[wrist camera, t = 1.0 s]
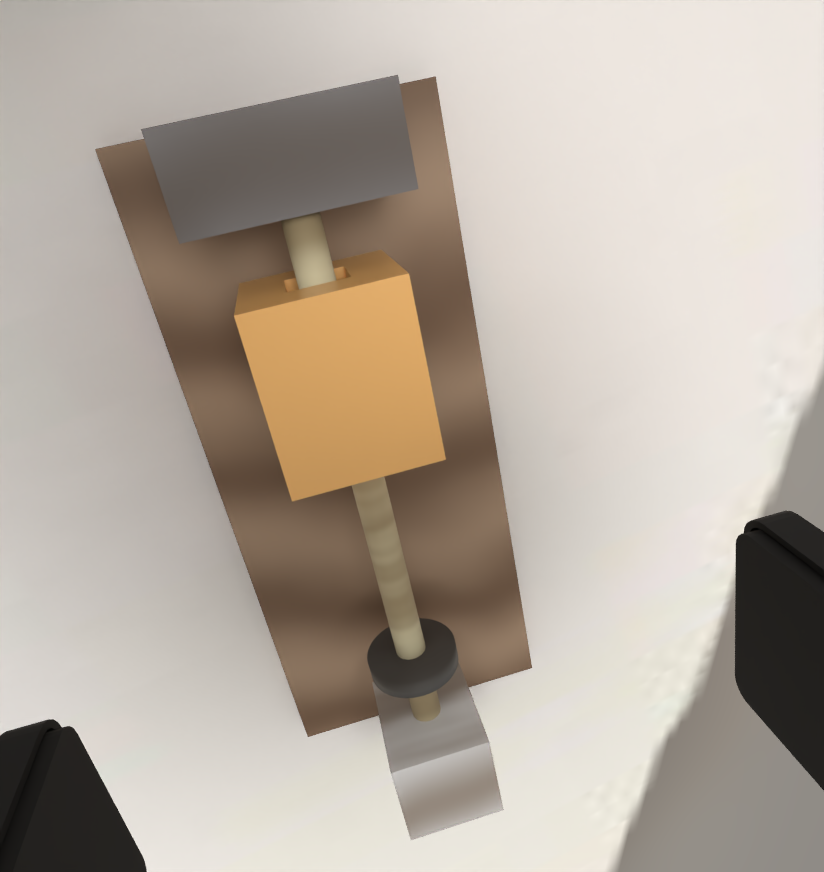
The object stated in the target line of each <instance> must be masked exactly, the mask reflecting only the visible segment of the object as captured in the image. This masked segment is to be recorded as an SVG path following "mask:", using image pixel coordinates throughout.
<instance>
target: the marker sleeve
mask: <svg viewBox="0 0 824 872" xmlns="http://www.w3.org/2000/svg"><path fill="white" fill-rule="evenodd" d="M332 264H333V268H334V272H335V276H336V281H331V282H327V283H323V284H319V285H315V286H311V287H307V288H302V289H299V288H298V284H297V280H296V276H295V273H294V270H293V271H289V272H285V273H281V274H277V275H272V276H268V277H264V278H260V279H255V280H251V281H247V282H243V283H239V288H238V294H237V300H236V306H235V312H234V318H235V321H236V324H237V327H238V331H239V334H240V337H241V340H242V343H243V347H244V350H245V353H246V356H247V359H248V362H249V366H250V369H251V372H252V375H253V378H254V382H255V385H256V388H257V391H258V394H259V398H260V401H261V404H262V407H263V410H264V414H265V417H266V420H267V423H268V426H269V430H270V433H271V436H272V439H273V442H274V445H275V449H276V452H277V455H278V458H279V461H280V465H281V468H282V471H283V474H284V477H285V481H286V484H287V487H288V490H289V493H290V497H291V500H292V501H296V500H300V499H303V498H307V497H311V496H314V495H318V494H322V493H325V492H329V491H333V490H336V489H340V488H344V487H347V486H351V485H355V484H358V483H362V482H366V481H369V480H373V479H377V478H380V477H384V476H388V475H391V474H395V473H399V472H402V471H406V470H410V469H414V468H417V467H421V466H425V465H428V464H432V463H436V462H439V461H443V460H446V457H445V452H444V447H443V442H442V437H441V432H440V427H439V422H438V417H437V412H436V407H435V402H434V397H433V392H432V386H431V381H430V376H429V371H428V366H427V361H426V356H425V351H424V346H423V341H422V336H421V331H420V326H419V321H418V316H417V311H416V306H415V301H414V296H413V291H412V286H411V281H410V276H409V273H408V272H407V271H406V270H405V269H403V268H402V267H401V266H400V265H399V264H398V263H396V262H395V261H394V260H393V259H392V258H391V257H389V256H388V255H387V254H386V253H385V252H384V251H382V250H377V251H373V252H369V253H365V254H361V255H356V256H352V257H348V258H344V259H340V260H335V261H332Z"/></svg>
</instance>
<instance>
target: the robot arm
mask: <svg viewBox="0 0 824 872" xmlns="http://www.w3.org/2000/svg"><path fill="white" fill-rule="evenodd" d="M735 678H736V683H737V686H738V688H739V690H740V693H741V694H742V696H743V698H744V699H745V701H746V702H747V703H748V704H749V705H750V707H751V708H752V709H753V710H754V711H755V712H756V713H757V715H758V716H759V717H760V718H761V719H762V720H763V722H764V723H765V724H766V725H767V726H768V727H769V728H770V729H771V731H772V732H773V733H774V734H775V735H776V736H777V737H778V739H779V740H780V741H781V742H782V743H783V744H784V745H785V747H786V748H787V749H788V750H789V751H790V752H791V754H792V755H793V756H794V757H795V758H796V759H797V760H798V762H799V763H800V764H801V765H802V766H803V767H804V768H805V770H806V771H807V772H808V773H809V774H810V775H811V776H812V778H813V779H815V781H816V782H817V783H818V784H819V786H820V787H821V788H822V789H823V790H824V532H823V531H821V530H820V529H818V528H817V527H815V526H814V525H813V524H811V523H809V522H808V521H807V520H805V519H804V518H802V517H801V516H799V515H798V514H796V513H794V512H792V511H783V512H780V513H776V514H773V515H769V516H765V517H762V518H758V519H755V520H751V521H750V522H748V523H747V524H746V526H745V528H744V534H741V535H739V536H738V538H737V540H736V604H735ZM0 872H147V871H146V866H145V861H144V859H143V856H142V854H141V853H140V851H139V849H138V847H137V845H136V843H135V841H134V839H133V838H132V836H131V834H130V832H129V830H128V828H127V826H126V824H125V822H124V821H123V819H122V817H121V815H120V813H119V811H118V809H117V807H116V806H115V804H114V802H113V800H112V798H111V796H110V794H109V792H108V790H107V789H106V787H105V785H104V783H103V781H102V779H101V777H100V775H99V774H98V772H97V770H96V768H95V766H94V764H93V762H92V760H91V758H90V757H89V755H88V753H87V751H86V749H85V747H84V745H83V743H82V742H81V740H80V738H79V736H78V734H77V732H76V731H75V730H74V728H72V727H71V726H66V727H63V728H62V727H61V726H60V724H59V723H58V722H56V721H55V720H45V721H42V722H38V723H35V724H31V725H28V726H24V727H21V728H17V729H13V730H10V731H6V732H5V733H3V734H2V735H1V736H0Z"/></svg>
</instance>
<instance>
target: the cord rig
mask: <svg viewBox="0 0 824 872" xmlns="http://www.w3.org/2000/svg"><path fill="white" fill-rule="evenodd" d="M141 131H142V134H143V137H144V139H141V140H136V141H131V142H127V143H122V144H117V145H113V146H108V147H103V148H99V149H95V150H96V153H97V156H98V158H99V161H100V164H101V167H102V169H103V172H104V175H105V178H106V180H107V183H108V186H109V189H110V192H111V194H112V197H113V200H114V203H115V205H116V208H117V211H118V214H119V216H120V219H121V222H122V225H123V227H124V230H125V233H126V236H127V238H128V241H129V244H130V247H131V250H132V252H133V255H134V258H135V261H136V263H137V266H138V269H139V272H140V274H141V277H142V280H143V283H144V285H145V288H146V291H147V294H148V296H149V299H150V302H151V305H152V308H153V310H154V313H155V316H156V319H157V321H158V324H159V327H160V330H161V332H162V335H163V338H164V341H165V343H166V346H167V349H168V352H169V354H170V357H171V360H172V363H173V365H174V368H175V371H176V374H177V377H178V379H179V382H180V385H181V388H182V390H183V393H184V396H185V399H186V401H187V404H188V407H189V410H190V412H191V415H192V418H193V421H194V423H195V426H196V429H197V432H198V435H199V437H200V440H201V443H202V446H203V448H204V451H205V454H206V457H207V459H208V462H209V465H210V468H211V470H212V473H213V476H214V479H215V481H216V484H217V487H218V490H219V493H220V495H221V498H222V501H223V504H224V506H225V509H226V512H227V515H228V517H229V520H230V523H231V526H232V528H233V531H234V534H235V537H236V539H237V542H238V545H239V548H240V550H241V553H242V556H243V559H244V562H245V564H246V567H247V570H248V573H249V575H250V578H251V581H252V584H253V586H254V589H255V592H256V595H257V597H258V600H259V603H260V606H261V608H262V611H263V614H264V617H265V620H266V622H267V625H268V628H269V631H270V633H271V636H272V639H273V642H274V644H275V647H276V650H277V653H278V655H279V658H280V661H281V664H282V666H283V669H284V672H285V675H286V678H287V680H288V683H289V686H290V689H291V691H292V694H293V697H294V700H295V702H296V705H297V708H298V711H299V713H300V716H301V719H302V722H303V724H304V727H305V730H306V733H307V735H308V737H309V736H313V735H316V734H319V733H322V732H326V731H329V730H332V729H335V728H339V727H342V726H345V725H348V724H352V723H355V722H358V721H361V720H365V719H368V718H371V717H374V716H378V715H379V718H380V723H381V727H382V732H383V737H384V742H385V747H386V752H387V757H388V761H389V766H390V771H391V775H392V778H393V782H394V785H395V788H396V792H397V795H398V798H399V802H400V805H401V808H402V812H403V815H404V818H405V822H406V825H407V828H408V832H409V835H410V838H411V840H413V839H416V838H419V837H422V836H425V835H428V834H431V833H435V832H438V831H441V830H444V829H447V828H450V827H453V826H456V825H459V824H462V823H465V822H468V821H471V820H474V819H477V818H480V817H483V816H486V815H489V814H492V813H495V812H498V811H501V810H503V805H502V800H501V795H500V791H499V786H498V781H497V776H496V772H495V767H494V762H493V757H492V753H491V748H490V743H489V740H488V737H487V735H486V732H485V729H484V727H483V724H482V722H481V719H480V716H479V714H478V711H477V708H476V706H475V703H474V701H473V698H472V695H471V693H470V690H469V688H468V687H472V686H475V685H478V684H481V683H484V682H488V681H491V680H494V679H497V678H501V677H504V676H507V675H510V674H514V673H517V672H520V671H523V670H527V669H530V668H532V665H531V659H530V653H529V647H528V641H527V634H526V628H525V622H524V616H523V610H522V604H521V598H520V592H519V585H518V579H517V573H516V567H515V561H514V555H513V549H512V543H511V536H510V530H509V524H508V518H507V512H506V506H505V500H504V493H503V487H502V481H501V475H500V469H499V463H498V457H497V451H496V444H495V438H494V432H493V426H492V420H491V414H490V408H489V401H488V395H487V389H486V383H485V377H484V371H483V365H482V359H481V352H480V346H479V340H478V334H477V328H476V322H475V316H474V310H473V303H472V297H471V291H470V285H469V279H468V273H467V267H466V260H465V254H464V248H463V242H462V236H461V230H460V224H459V218H458V211H457V205H456V199H455V193H454V187H453V181H452V175H451V168H450V162H449V156H448V150H447V144H446V138H445V132H444V126H443V119H442V113H441V107H440V101H439V95H438V89H437V83H436V77H431V78H427V79H422V80H417V81H413V82H408V83H403V84H399V79H398V75H395V76H390V77H386V78H381V79H376V80H372V81H367V82H362V83H357V84H353V85H348V86H343V87H339V88H334V89H329V90H324V91H320V92H315V93H310V94H306V95H301V96H296V97H291V98H287V99H282V100H277V101H273V102H268V103H263V104H258V105H254V106H249V107H244V108H239V109H235V110H230V111H225V112H221V113H216V114H211V115H206V116H202V117H197V118H192V119H188V120H183V121H178V122H173V123H169V124H164V125H159V126H155V127H150V128H145V129H141ZM377 250H382V251H384V252H385V253H386V254H387V255H388V256H389V257H391V258H392V259H393V260H394V261H395V262H396V263H398V264H399V265H400V266H401V267H402V268H403V269H405V270H406V271H407V272H408V273H409V276H410V281H411V286H412V291H413V296H414V301H415V306H416V311H417V316H418V321H419V326H420V331H421V336H422V341H423V346H424V351H425V356H426V361H427V366H428V371H429V376H430V381H431V386H432V392H433V397H434V402H435V407H436V412H437V417H438V422H439V427H440V432H441V437H442V442H443V447H444V452H445V457H446V460H443V461H439V462H436V463H432V464H428V465H425V466H421V467H417V468H414V469H410V470H406V471H402V472H399V473H395V474H391V475H388V476H384V477H380V478H377V479H373V480H369V481H366V482H362V483H358V484H355V485H351V486H347V487H344V488H340V489H336V490H333V491H329V492H325V493H322V494H318V495H314V496H311V497H307V498H303V499H300V500H296V501H292V500H291V497H290V493H289V490H288V487H287V484H286V481H285V477H284V474H283V471H282V468H281V465H280V461H279V458H278V455H277V452H276V449H275V445H274V442H273V439H272V436H271V433H270V430H269V426H268V423H267V420H266V417H265V414H264V410H263V407H262V404H261V401H260V398H259V394H258V391H257V388H256V385H255V382H254V378H253V375H252V372H251V369H250V366H249V362H248V359H247V356H246V353H245V350H244V347H243V343H242V340H241V337H240V334H239V331H238V327H237V324H236V321H235V318H234V312H235V306H236V300H237V294H238V288H239V283H243V282H247V281H251V280H255V279H260V278H264V277H268V276H272V275H277V274H281V273H285V272H289V271H293V270H294V273H295V276H296V280H297V284H298V288H299V289H302V288H307V287H311V286H315V285H319V284H323V283H327V282H331V281H336V276H335V272H334V268H333V264H332V261H335V260H340V259H344V258H348V257H352V256H356V255H361V254H365V253H369V252H373V251H377Z"/></svg>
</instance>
